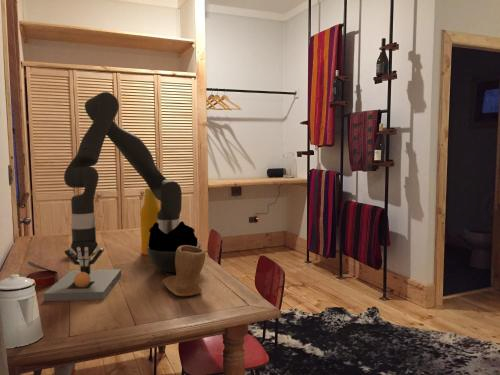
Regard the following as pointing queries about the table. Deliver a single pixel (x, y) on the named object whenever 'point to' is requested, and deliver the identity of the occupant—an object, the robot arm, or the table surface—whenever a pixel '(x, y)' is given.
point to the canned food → (43, 276)
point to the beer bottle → (148, 218)
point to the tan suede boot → (186, 271)
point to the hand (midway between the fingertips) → (85, 276)
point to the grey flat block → (93, 291)
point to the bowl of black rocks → (169, 245)
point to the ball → (82, 279)
